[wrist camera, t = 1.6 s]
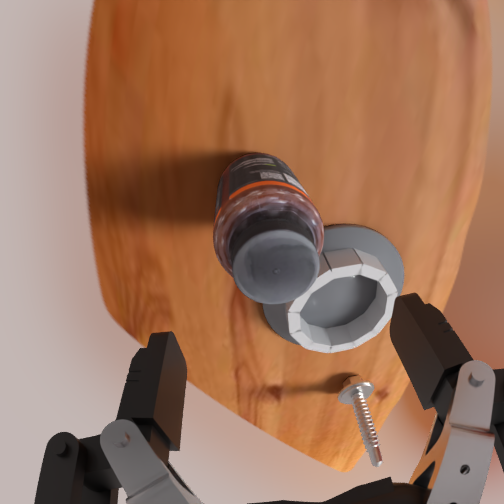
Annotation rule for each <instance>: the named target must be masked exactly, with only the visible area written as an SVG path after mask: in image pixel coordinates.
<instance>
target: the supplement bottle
mask: <svg viewBox="0 0 504 504" xmlns="http://www.w3.org/2000/svg"><path fill="white" fill-rule="evenodd" d="M213 242H214V248H215V252H216V255H217V258H218V260H219V262H220V263H221V265H222V266H223V268H224V269H225V270H226V271H227V272H228V273H229V274H230V275H231V276H232V277H233V278H234V281H235V283H236V285H237V287H238V288H239V289H240V291H241V292H242V293H243V294H244V295H246V296H247V297H248V298H250V299H252V300H254V301H256V302H259V303H264V304H282V303H287V302H290V301H292V300H294V299H296V298H298V297H300V296H302V295H303V294H304V293H306V292H307V291H308V290H309V289H310V287H311V286H312V285H313V284H314V282H315V281H316V278H317V276H318V273H319V270H320V260H319V256H320V253H321V251H322V248H323V242H324V227H323V222H322V219H321V217H320V214H319V212H318V211H317V209H316V207H315V206H314V204H313V202H312V201H311V199H310V198H309V196H308V195H307V193H306V192H305V190H304V189H303V187H302V186H301V184H300V183H299V181H298V180H297V178H296V177H295V175H294V174H293V172H292V171H291V169H290V168H289V167H288V166H287V165H286V164H285V163H284V162H283V161H281V160H280V159H278V158H277V157H275V156H272V155H269V154H264V153H253V154H247V155H244V156H241V157H239V158H238V159H236V160H235V161H233V162H232V163H231V164H230V165H229V166H228V167H227V168H226V169H225V171H224V172H223V174H222V176H221V178H220V181H219V185H218V191H217V200H216V209H215V218H214V230H213Z"/></svg>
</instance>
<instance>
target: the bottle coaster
mask: <svg viewBox="0 0 504 504" xmlns="http://www.w3.org/2000/svg"><path fill="white" fill-rule="evenodd" d="M319 260H320V270H319V273H318V276H317V278H316V281H315V282H314V284H313V285H312V286H311V287H310V289H309V290H308V291H307V292H306V293H304V294H303V295H302V296H300V297H298V298H296V299H294V300H292V301H290V302H287V303H282V304H264V303H263V310H264V314H265V317H266V319H267V321H268V323H269V324H270V326H271V327H272V329H273V330H274V331H275V332H276V333H277V334H279V335H280V336H281V337H282V338H284V339H286V340H288V341H290V342H292V343H295V344H298V345H301V346H303V347H304V348H306V349H309V350H314V351H319V352H324V353H329V352H330V353H333V352H338V351H343V350H348V349H353V348H354V346H355V347H357V346H359V345H361V344H363V343H364V342H366V341H368V340H369V339H371V338H372V337H374V336H376V335H377V333H379V332H380V331H381V330H382V329H383V327H384V326H385V325H386V323H387V322H388V321H389V320H390V318H391V317H392V313H393V307H394V301H395V298H396V297H398V296H400V294H401V291H402V288H403V283H404V267H403V262H402V259H401V257H400V254H399V253H398V251H397V250H396V248H395V247H394V246H393V244H392V243H391V242H390V241H389V240H388V239H387V238H386V237H385V236H383V235H382V234H381V233H379V232H377V231H376V230H374V229H371V228H368V227H365V226H361V225H356V224H338V225H331V226H326V227H324V242H323V248H322V251H321V253H320V256H319Z"/></svg>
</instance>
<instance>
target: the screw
mask: <svg viewBox="0 0 504 504" xmlns="http://www.w3.org/2000/svg"><path fill="white" fill-rule="evenodd" d="M342 384H343V387H344V388H343V389H342V390H341V391H340V392H339V393H338V400H339V401H340V402H341V403H344V404H352V405H353V409H355V410H354V412H355V413H356V414H355V416H356V417H357V418H356V419H357V421H358V424H359V428H360V432H361V433H362V434H361V436H362V437H363V438H362V440H363V441H364V442H363V444H364V445H366V446H365V448H366V449H367V452H369V456H370V459H371V462H372V465H373V466H376V467H379V466H380V465H381V464H382V456H381V452H380V449H379V445H380V444H378V441H379V440H378V439H377V437H378V435H376V433H377V432H376V431H375V430H374V429H375V427H373V425H374V423H372V421H373V419H371V417H372V416H371V415H370V412H369V411H368V410H369V408H367V406H368V404H366V402H367V401H366V400H365V399H366V398H368V397H369V396H370V395H371V393H372V392H373V390H374V385H373V383H372V382H370V381H366V380H362V379H361V377H360V376H359V375H357V376H351V377H348V378H347V379H346V380H345V381H344V382H343V383H342Z"/></svg>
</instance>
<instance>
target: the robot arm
mask: <svg viewBox="0 0 504 504" xmlns="http://www.w3.org/2000/svg"><path fill="white" fill-rule="evenodd" d="M390 337H391V341H392V343H393V345H394V347H395V349H396V351H397V353H398V355H399V357H400V359H401V361H402V363H403V366H404V368H405V370H406V372H407V374H408V376H409V378H410V380H411V382H412V384H413V387H414V389H415V391H416V393H417V395H418V398H419V400H420V402H421V404H422V406H423V409H424V410H426V409H429V408H432V407H435V409H436V411H437V413H436V414H435V417H434V420H433V424H432V427H431V430H430V434H429V437H428V440H427V443H426V446H425V449H424V451H423V454H422V457H421V460H420V462H419V464H418V465H417V467H416V469H415V471H414V473H413V475H412V477H411V479H410V481H409V484H408V483H392V480H391V477H388V478H385V479H381V480H378V481H374V482H371V483H368V484H364V485H360V486H357V487H355V488H353V489H351V490H349V491H347V492H344V493H342V494H340V495H338V496H336V497H334V498H332V499H329V500H327V501H324V502H299V501H286V500H281V501H272V502H262V503H249V504H479V503H480V499H481V496H482V492H483V489H484V485H485V482H486V478H487V474H488V470H489V466H490V461H491V457H492V452H493V446H494V447H495V449H496V452H497V455H498V457H499V460H500V463H501V465H502V469H503V472H504V369H495V370H492V369H491V368H490V366H488V365H487V364H486V363H484V362H482V361H477V360H473V358H472V357H471V355H470V354H469V352H468V351H467V349H466V348H465V346H464V345H463V343H462V342H461V340H460V339H459V337H458V336H457V334H456V333H455V331H453V330H452V327H451V326H450V324H449V323H447V320H446V319H445V317H444V316H443V314H442V313H441V311H440V310H438V309H437V308H435V307H434V306H432V305H431V304H430V303H428V304H424V303H423V301H422V300H421V298H420V297H419V296H418V294H417V293H411V294H407V295H402V296H398V297H396V298H395V301H394V307H393V313H392V318H391V323H390ZM186 379H187V366H186V361H185V358H184V356H183V354H182V351H181V349H180V347H179V344H178V342H177V340H176V337H175V335H174V333H173V332H172V331H170V332H160V333H152V334H151V335H150V338H149V342H148V346H147V348H140V349H139V351H138V352H137V353H136V354H135V356H134V357H133V358H132V361H131V364H130V368H129V373H128V375H127V379H126V383H125V387H124V390H123V394H122V398H121V403H120V406H119V410H118V414H117V418H116V420H115V421H113V422H111V423H110V424H108V425H107V426H106V427H105V428H104V429H103V431H102V433H101V434H100V435H97V436H92V437H87V438H83V439H77V438H76V437H75V436H74V435H72V434H71V433H68V432H60V433H58V434H56V435H54V436H53V437H52V438H51V439H50V440H49V442H48V444H47V446H46V450H45V454H44V458H43V463H42V467H41V472H40V477H39V481H38V486H37V492H36V497H35V503H34V504H117V502H118V490H119V488H121V487H123V488H124V490H125V492H126V494H127V496H128V498H127V499H126V503H127V504H203V502H201V500H200V499H199V498H198V497H197V496H196V495H195V494H194V492H193V491H192V490H191V489H190V488H189V486H188V485H187V484H186V483H185V482H184V480H183V479H182V478H181V476H180V475H179V474H178V472H177V471H176V470H175V469H174V467H173V466H172V465H171V463H170V462H169V461H168V459H169V451H179V450H180V439H181V428H182V418H183V408H184V397H185V388H186Z"/></svg>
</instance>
